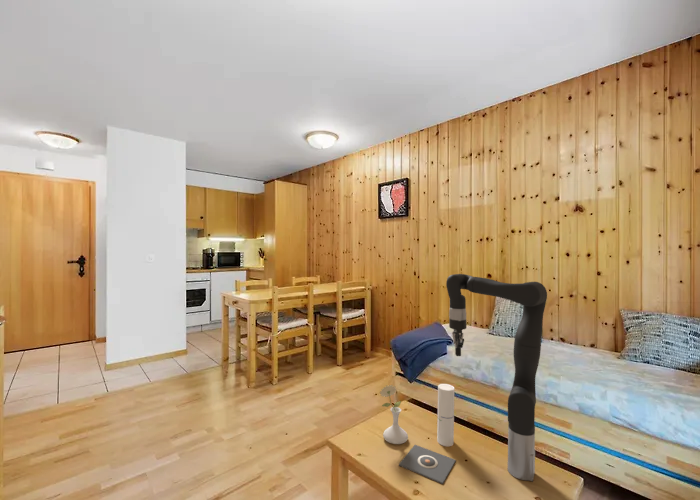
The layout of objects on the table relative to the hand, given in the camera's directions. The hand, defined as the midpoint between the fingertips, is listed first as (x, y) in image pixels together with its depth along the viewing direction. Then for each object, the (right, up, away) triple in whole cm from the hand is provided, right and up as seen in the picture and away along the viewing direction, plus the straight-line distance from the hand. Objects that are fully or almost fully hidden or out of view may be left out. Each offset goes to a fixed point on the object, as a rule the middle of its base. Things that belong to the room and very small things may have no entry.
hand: (458, 355), depth 152 cm
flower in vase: (-29, -39, 0) cm, 49 cm away
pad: (-18, -39, -16) cm, 46 cm away
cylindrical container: (-6, -39, -1) cm, 39 cm away
